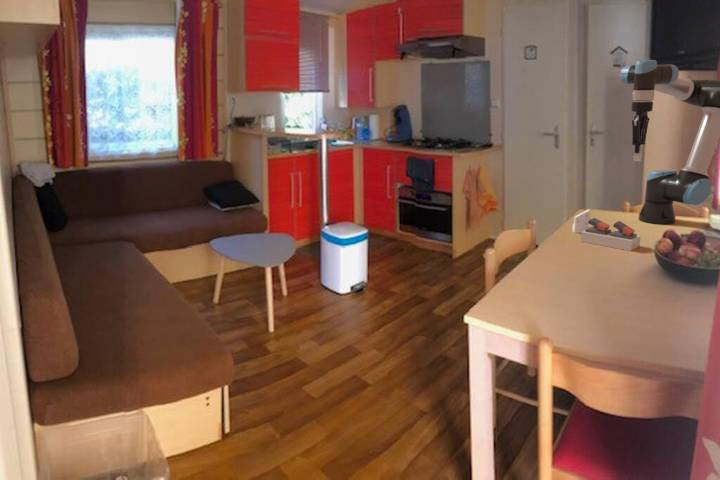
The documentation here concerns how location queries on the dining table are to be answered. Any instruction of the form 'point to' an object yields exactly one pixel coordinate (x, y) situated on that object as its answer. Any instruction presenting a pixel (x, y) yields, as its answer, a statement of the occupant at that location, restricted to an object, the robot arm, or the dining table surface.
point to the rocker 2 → (623, 228)
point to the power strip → (610, 238)
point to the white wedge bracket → (581, 222)
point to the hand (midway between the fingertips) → (637, 160)
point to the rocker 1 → (598, 224)
